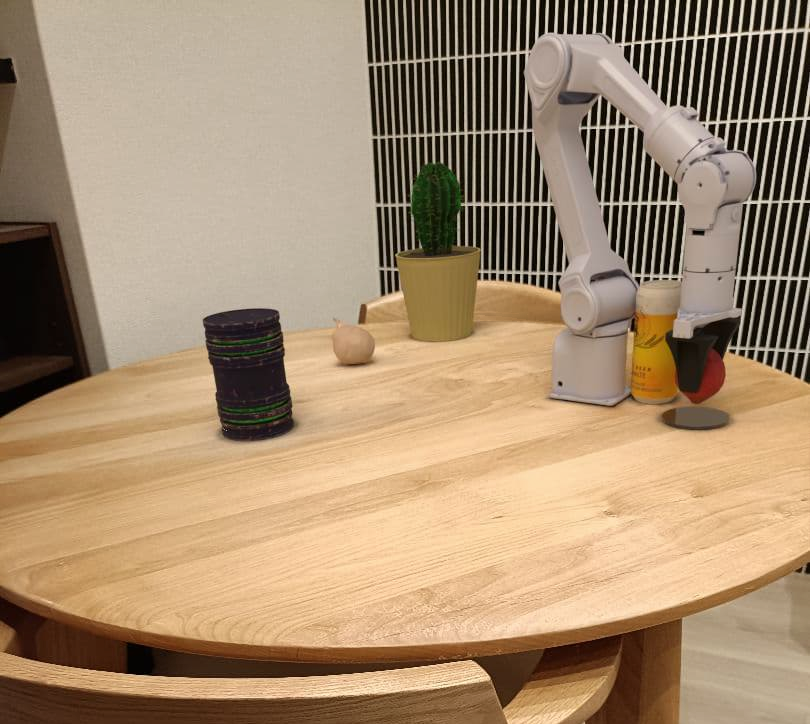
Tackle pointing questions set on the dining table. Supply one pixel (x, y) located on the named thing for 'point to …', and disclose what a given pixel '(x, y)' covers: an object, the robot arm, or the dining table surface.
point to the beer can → (654, 341)
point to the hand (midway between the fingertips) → (698, 385)
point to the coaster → (695, 418)
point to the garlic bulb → (352, 343)
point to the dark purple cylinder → (249, 373)
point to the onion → (708, 379)
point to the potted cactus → (438, 261)
